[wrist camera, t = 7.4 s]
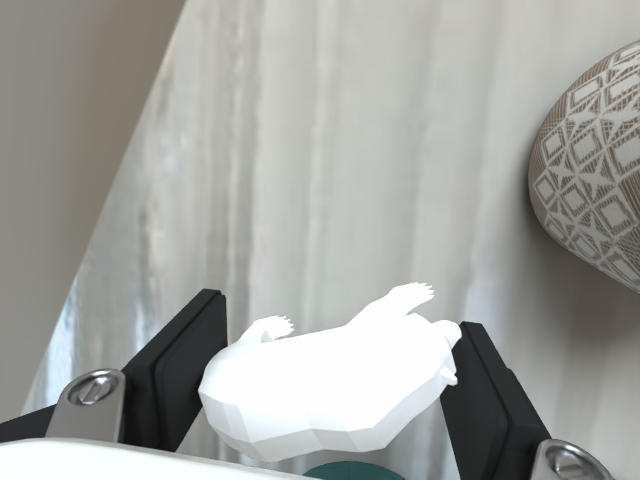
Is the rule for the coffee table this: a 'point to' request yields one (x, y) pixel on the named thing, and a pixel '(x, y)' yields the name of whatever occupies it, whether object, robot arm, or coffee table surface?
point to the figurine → (330, 380)
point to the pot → (351, 472)
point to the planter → (594, 168)
